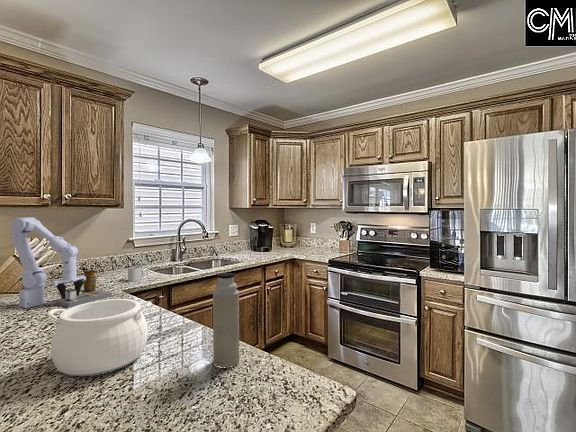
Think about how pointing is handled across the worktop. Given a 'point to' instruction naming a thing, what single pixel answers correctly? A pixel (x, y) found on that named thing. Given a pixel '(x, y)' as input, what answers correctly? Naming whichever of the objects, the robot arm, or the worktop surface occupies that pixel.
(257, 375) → the worktop surface
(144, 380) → the worktop surface
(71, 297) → the fader tab
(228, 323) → the thermos bottle
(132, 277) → the cup
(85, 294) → the console board
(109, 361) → the pot
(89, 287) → the condiment
